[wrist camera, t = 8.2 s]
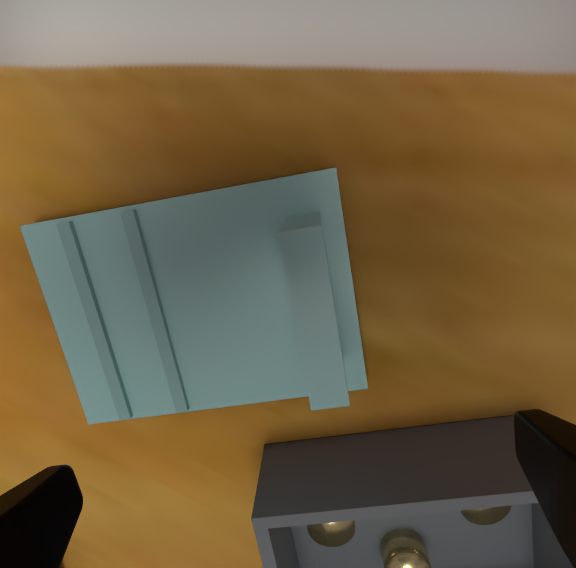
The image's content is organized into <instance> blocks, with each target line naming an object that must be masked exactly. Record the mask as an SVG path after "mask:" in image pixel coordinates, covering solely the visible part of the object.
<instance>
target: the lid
mask: <svg viewBox="0 0 576 568" xmlns="http://www.w3.org/2000/svg"><path fill="white" fill-rule="evenodd" d="M20 228H21V231H22V234H23V237H24V240H25V243H26V246H27V248H28V251H29V254H30V257H31V260H32V263H33V266H34V269H35V272H36V274H37V277H38V280H39V283H40V286H41V289H42V292H43V295H44V297H45V300H46V303H47V306H48V309H49V312H50V315H51V318H52V321H53V323H54V326H55V329H56V332H57V335H58V338H59V341H60V344H61V347H62V349H63V352H64V355H65V358H66V361H67V364H68V367H69V370H70V373H71V375H72V378H73V381H74V384H75V387H76V390H77V393H78V396H79V398H80V401H81V404H82V407H83V410H84V413H85V416H86V419H87V422H88V424H96V423H103V422H111V421H119V420H127V419H135V418H142V417H150V416H158V415H166V414H174V413H181V412H189V411H197V410H205V409H213V408H221V407H228V406H236V405H244V404H252V403H260V402H267V401H275V400H283V399H291V398H299V397H306V396H309V401H310V406H311V411H312V410H320V409H328V408H336V407H344V406H350V402H349V395H348V391H353V390H361V389H368V384H367V377H366V370H365V363H364V357H363V350H362V343H361V336H360V329H359V322H358V315H357V308H356V301H355V294H354V288H353V281H352V274H351V267H350V260H349V253H348V246H347V239H346V232H345V226H344V219H343V212H342V205H341V198H340V191H339V184H338V177H337V170H336V167H335V168H329V169H324V170H318V171H313V172H308V173H302V174H297V175H291V176H286V177H280V178H275V179H270V180H264V181H259V182H253V183H248V184H243V185H237V186H232V187H226V188H221V189H215V190H210V191H205V192H199V193H194V194H188V195H183V196H178V197H172V198H167V199H161V200H156V201H150V202H145V203H140V204H134V205H129V206H123V207H118V208H113V209H107V210H102V211H96V212H91V213H85V214H80V215H75V216H69V217H64V218H58V219H53V220H48V221H42V222H37V223H31V224H27V225H22V226H20Z"/></svg>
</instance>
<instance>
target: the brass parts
mask: <svg viewBox="0 0 576 568" xmlns="http://www.w3.org/2000/svg"><path fill="white" fill-rule="evenodd" d="M510 509H511V506H500V507H490V508H479V509H469V510H460V511H461V513H462V515H463V516H464V517H465V518H466V519H467V520H468V521H470V522H471V523H474V524H477V525H491V524H494V523H497V522H499V521H501V520H502V519H504V518H505V517H506V516H507V515H508V513H509V511H510ZM307 530H308V533H309V535H310V537H311V538H312V539H313V540H314V541H315V542H316V543H318V544H320V545H323V546H327V547H338V546H341V545H344V544H346V543H347V542H349V541H350V540H351V539H352V537H353V536H354V534H355V520H353V521H343V522H332V523H322V524H311V525H307ZM380 547H381V553H382V559H383V565H384V568H431V564H430V561H429V557H428V554H427V550H426V547H425V543H424V540H423V538H422V537H421V536H420V535H419V534H418V533H417V532H415V531H413V530H410V529H396V530H393V531H390V532H389V533H387V534H386V535H385V536H384V537H383V539H382V541H381V545H380Z"/></svg>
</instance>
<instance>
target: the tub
mask: <svg viewBox="0 0 576 568" xmlns="http://www.w3.org/2000/svg"><path fill="white" fill-rule="evenodd" d="M514 416H515V415H513V416H505V417H496V418H488V419H479V420H471V421H462V422H453V423H445V424H436V425H428V426H419V427H410V428H402V429H393V430H385V431H376V432H368V433H359V434H350V435H342V436H333V437H325V438H316V439H307V440H299V441H290V442H282V443H273V444H265V445H264V451H263V456H262V462H261V468H260V473H259V479H258V484H257V490H256V496H255V501H254V507H253V512H252V518H251V519H252V523H253V527H254V531H255V535H256V540H257V544H258V548H259V552H260V556H261V560H262V564H263V568H384V565H383V559H382V553H381V547H380V545H381V541H382V539H383V537H384V536H385V535H386V534H387V533H389V532H390V531H393V530H396V529H410V530H413V531H415V532H417V533H418V534H419V535H420V536H421V537H422V538H423V540H424V543H425V547H426V550H427V554H428V557H429V561H430V564H431V568H573V566H572V564H571V563H570V561H569V559H568V558H567V556H566V555H565V553H564V551H563V549H562V548H561V546H560V544H559V543H558V541H557V539H556V537H555V535H554V533H553V531H552V529H551V527H550V525H549V523H548V521H547V519H546V517H545V515H544V513H543V511H542V509H541V507H540V505H539V503H538V501H537V498H536V496H535V494H534V492H533V490H532V488H531V486H530V484H529V482H528V480H527V478H526V476H525V474H524V472H523V470H522V468H521V466H520V464H519V461H518V459H517V455H516V451H515V434H514ZM500 506H511V509H510V511H509V513H508V515H507V516H506V517H505V518H504V519H502V520H501V521H499V522H497V523H494V524H491V525H477V524H474V523H471V522H470V521H468V520H467V519H466V518H465V517H464V516H463V515H462V513H461V511H460V510H469V509H479V508H490V507H500ZM353 520H355V534H354V536H353V537H352V539H351V540H350V541H349V542H347V543H346V544H344V545H341V546H338V547H327V546H323V545H320V544H318V543H316V542H315V541H314V540H313V539H312V538H311V537H310V535H309V533H308V530H307V525H311V524H322V523H332V522H343V521H353Z"/></svg>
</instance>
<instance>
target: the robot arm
mask: <svg viewBox="0 0 576 568" xmlns="http://www.w3.org/2000/svg"><path fill="white" fill-rule="evenodd" d="M514 434H515V451H516V455H517V459H518V461H519V464H520V466H521V468H522V470H523V472H524V474H525V476H526V478H527V480H528V482H529V484H530V486H531V488H532V490H533V492H534V494H535V496H536V498H537V501H538V503H539V505H540V507H541V509H542V511H543V513H544V515H545V517H546V519H547V521H548V523H549V525H550V527H551V529H552V531H553V533H554V535H555V537H556V539H557V541H558V543H559V544H560V546H561V548H562V549H563V551H564V553H565V555H566V556H567V558H568V559H569V561H570V563H571V564H572V566H573V568H576V425H574V424H572V423H570V422H567V421H565V420H563V419H561V418H558V417H556V416H554V415H551V414H549V413H547V412H545V411H542V410H540V409H531V410H523V411H517V412H516V413H515V416H514ZM82 506H83V496H82V493H81V490H80V487H79V485H78V482H77V479H76V476H75V474H74V471H73V469H72V468H71V467H70V466H69V465H58V466H50V467H48V468H46V469H44V470H42V471H41V472H39V473H37V474H36V475H34V476H32V477H31V478H29V479H27V480H26V481H24V482H22V483H21V484H19V485H17V486H16V487H14V488H12V489H11V490H9V491H7V492H6V493H4V494H2V495H1V496H0V568H59V567H60V564H61V562H62V559H63V557H64V554H65V551H66V549H67V546H68V544H69V541H70V538H71V536H72V533H73V531H74V528H75V526H76V523H77V520H78V518H79V515H80V513H81V510H82Z"/></svg>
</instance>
